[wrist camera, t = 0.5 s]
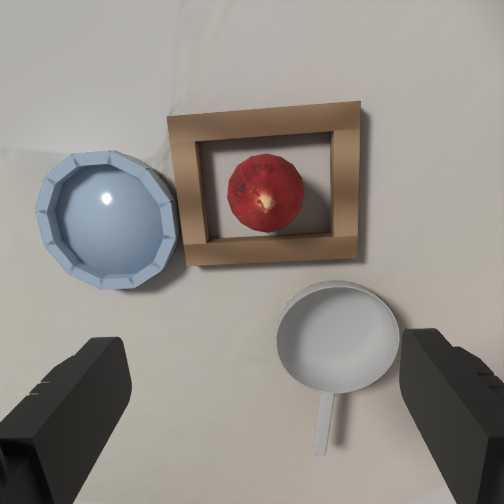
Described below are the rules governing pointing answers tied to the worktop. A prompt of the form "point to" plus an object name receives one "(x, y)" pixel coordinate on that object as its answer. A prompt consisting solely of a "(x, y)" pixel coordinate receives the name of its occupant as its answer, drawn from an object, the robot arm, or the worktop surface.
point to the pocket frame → (264, 125)
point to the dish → (108, 219)
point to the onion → (265, 192)
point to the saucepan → (335, 343)
